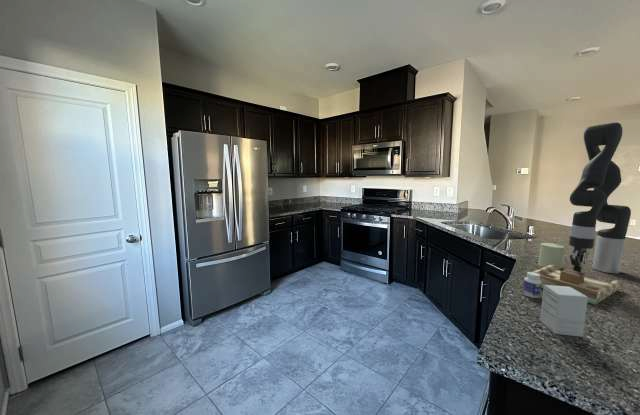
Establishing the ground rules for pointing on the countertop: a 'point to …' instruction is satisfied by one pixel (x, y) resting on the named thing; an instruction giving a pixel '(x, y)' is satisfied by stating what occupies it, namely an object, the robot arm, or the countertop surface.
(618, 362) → the countertop surface
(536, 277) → the pill bottle
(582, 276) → the block
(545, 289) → the supplement box
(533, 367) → the countertop surface
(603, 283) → the board
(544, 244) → the can
